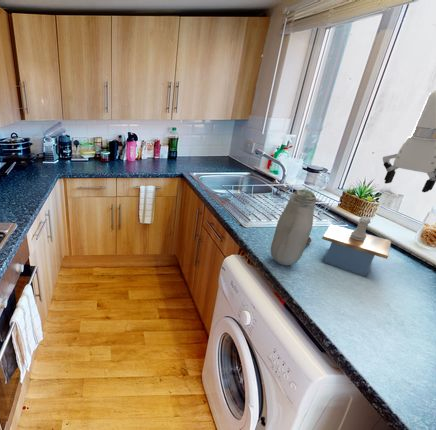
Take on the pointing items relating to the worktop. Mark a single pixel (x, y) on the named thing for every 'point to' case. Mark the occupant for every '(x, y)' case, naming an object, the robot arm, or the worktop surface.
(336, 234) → the board
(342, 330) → the worktop surface
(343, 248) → the blue box
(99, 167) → the worktop surface
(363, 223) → the rook chess piece
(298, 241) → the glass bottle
